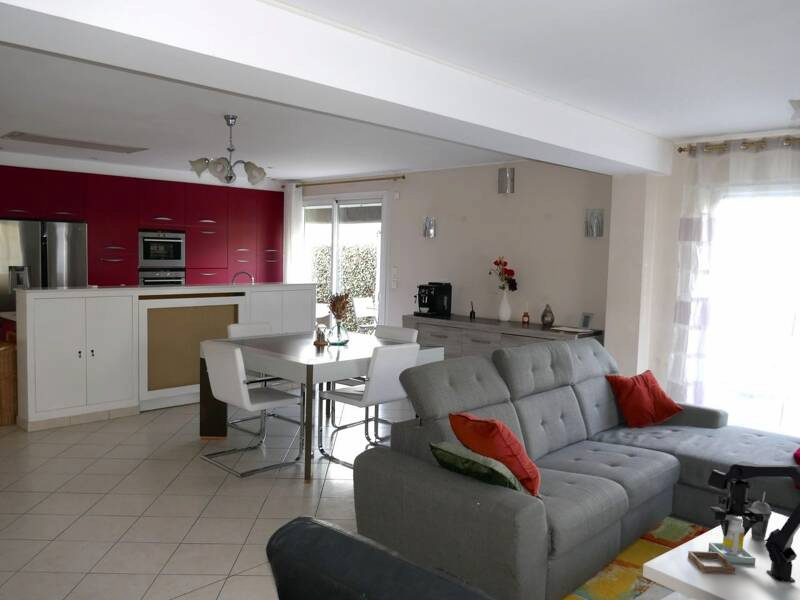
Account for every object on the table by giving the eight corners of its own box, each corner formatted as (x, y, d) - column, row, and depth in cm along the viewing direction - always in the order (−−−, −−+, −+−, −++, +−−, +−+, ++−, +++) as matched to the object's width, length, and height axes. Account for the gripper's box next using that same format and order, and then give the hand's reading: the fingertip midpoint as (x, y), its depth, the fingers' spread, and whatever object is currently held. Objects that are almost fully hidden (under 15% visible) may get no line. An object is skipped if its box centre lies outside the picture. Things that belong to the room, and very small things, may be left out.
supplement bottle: (739, 549, 242) (743, 516, 240) (744, 557, 235) (747, 523, 234) (720, 546, 243) (723, 513, 242) (724, 553, 237) (727, 520, 236)
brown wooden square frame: (735, 574, 226) (735, 568, 225) (703, 573, 225) (704, 566, 225) (718, 558, 237) (718, 552, 237) (687, 557, 237) (688, 551, 236)
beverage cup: (763, 535, 259) (768, 488, 258) (771, 543, 252) (777, 495, 250) (744, 533, 260) (749, 486, 258) (752, 541, 253) (758, 493, 251)
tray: (754, 564, 234) (755, 558, 234) (724, 563, 234) (725, 556, 233) (737, 549, 245) (738, 543, 245) (708, 548, 245) (709, 542, 245)
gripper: (749, 488, 246) (745, 527, 247) (702, 486, 245) (698, 525, 246) (767, 500, 235) (762, 540, 236) (717, 498, 234) (713, 539, 235)
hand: (733, 536), depth 239 cm, fingers closed on supplement bottle, 6 cm apart
